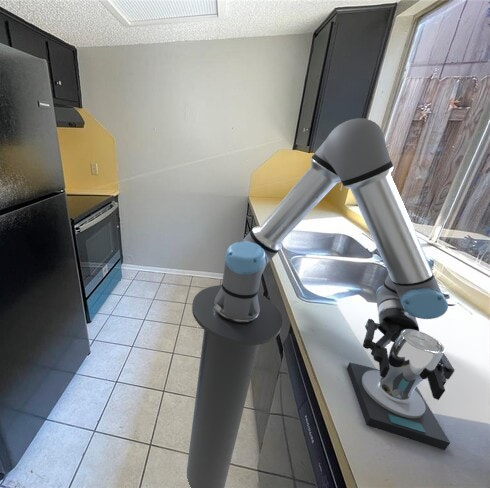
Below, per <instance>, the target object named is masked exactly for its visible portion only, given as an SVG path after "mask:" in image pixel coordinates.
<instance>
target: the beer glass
mask: <svg viewBox="0 0 490 488" xmlns="http://www.w3.org/2000/svg"><path fill="white" fill-rule="evenodd" d="M445 351H446V348H445V346H444V345H443V343H442V342H441V341H440V340H438V339H436V338H434V336H432V335H429V334H428V333H425V332H423V331H421V330H419V331H417V330H413V329H404V330H402V331H401V333H400V334H399V336H398V337H397V339H396V340H395V342H392V345H391V347H390V350H389V353H388V360H389V367H390V369H389V371H388V373H387V374H386V376H385V378H384V377H380V378H379V379H378V380H377V382H376V385H377V387H378V389H379V390H380V391H381V393H382V394H384V395H385V396H386V397H387V398H389V399H391V400H393V401H395V402H397V403H401V404H408V403H410V401H411V399H412V395H413V392H414V390H415V388H416V387H417V388H418V386H420V385H421V384H422V383H423V382H424V381H425V380H427V379H428V378H427V377H429V376H430V375H431V374H432V372H433V371H434V370H435V368H436V367H437V365H438V363H439V361H440V359H441V357H442V355H443V353H444V354H445Z"/></svg>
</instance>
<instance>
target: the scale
mask: <svg viewBox="0 0 490 488" xmlns="http://www.w3.org/2000/svg"><path fill="white" fill-rule="evenodd" d="M346 371H347V374H348V377H349V379H350V382H351V385H352V388H353V391H354V394H355V397H356V399H357V402H358V405H359V408H360V411H361V415H362V416H363V419H364V422H365V426H367V427H369V428H373V429H376V430H380V431H383V432H385V433H388V434H392V435H395V436H398V437H402V438H405V439H407V440H411V441H413V442H418V443H420V444H424V445H426V446H429V447H433V448H436V449H439V450H442V451H446V450H447V448H448V447H449V446H450V445H451V441H450V439H449V438H448V436H447V434H446V433H445V431H444V429H443V428H442V426H441V424H440V423H439V422H438V420H437V417H436V416H435V414H434V413H433V412H432V410H431V408H430V406H429V405H428V403H427V401H426V400H425V398H424V397H423V395H422V393H421V392H420V390H419V388H418V386H417V387H416V388H415V390H414V392H413V395H412V399H411V401H410V403H408V404H401V403H397V402H395V401H393V400H391V399H389V398H387V397H386V396H385V395H384V394H382V393H381V391H380V390H379V389H378V387H377V385H376V382H377V380H378V379H379V378H380V377H381V376H380V369H377V368H375V367H370V366H367V365H366V366H365V365H362V364H359V363H355V362H351V361H349V362H348V364H347V367H346Z"/></svg>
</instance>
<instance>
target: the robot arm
mask: <svg viewBox="0 0 490 488" xmlns="http://www.w3.org/2000/svg"><path fill="white" fill-rule="evenodd" d="M386 143H387V142H386V139H385V135H384V132H383V130H382V128H381V126H380V125H379V124H378V123H376V122H375V121H373V120H372V119H368V118H363V117H362V118H361V117H359V118H358V117H357V118H352V119H347V120H346V121H343V122H342V123H340V124H338V125H337V126H336V127H334V128H333V130H331V132H330V133H329V134H328V136H327V138H326V139H325V140H324V141H323V143H321V145H320V146H318V147H319V148H317V149H316V151H315V152H314V153H313V155H312V156H311V157H310V167H309V168H307V170H306V171H305V173H304V174H303V175H302V176H301V177H300V179H299V180H298V181H296V183H295V184H294V186H293V187H292V188H290V191H289V192H287V194H286V195H285V196H284V198H283V199H282V200H280V202H279V203H278V205H277V206H276V207H275V208H274V209H273V210H272V212H270V214H269V215H268V216H267V217H266V218H265V220H264V221H263V222H262V224H261V225H258V226H254V227H253V228H252V229H250V231H249V233H248V234H247V235H246V236H244V238H243V239H242V240H241V241H239V242H237V241H236V242H234V243H231V244H230V245H229V246H228V248H227V250H226V253H225V258H224V267H223V275H222V281H221V285H222V287H221V289H220V291H219V292H218V294H217V296H216V298H215V300H214V310H215V312H216V313H217V314H218V315H219V316H220V317H221V318H223V319H225V320H227V321H229V322H232V323H237V324H248V323H252V322H254V321H255V320H256V319H257V318H258V316H259V311H260V309H259V302H258V296H257V293H259V288H260V284H261V279H262V275H263V273H264V271H265V269H266V267H267V266H268V263H270V261H271V260H272V259H273V258H274V257H275V256H276V255H277V254H278V253H279V251H281V250H282V248H283V246H282V242H283V241H284V240H285V239H286V237H288V236H289V234H290V233H291V232H292V231H293V230H294V229H295V228H296V227H297V226H298V225H299V224H300V223H301V222H302V220H304V219H305V217H306V216H307V215H308V214H309V213H310V212H311V211H312V210H313V209H314V208H315V207H316V206H317V205H318V204H319V203H320V201H322V199H324V197H325V196H327V194H328V193H329V192H330V191H331V190H332V189H333V188H334V187H335V186H336V185H337V184H339V183H341V185H342V186H343V188H345V189H349V190H350V192H351V194H352V196H353V198H354V200H355V203H356V205H357V207H358V209H359V212H360V214H361V216H362V218H363V220H364V222H365V224H366V227H367V229H368V231H369V234H370V236H371V238H372V240H373V243H374V245H375V247H376V249H377V252H378V254H379V255H380V258H381V260H382V262H383V264H384V266H385V269H386V271H387V276H386V278H385V280H384V282H383V283H382V285H380V286H379V287H378V288H377V289H376V291H375V292H376V293H375V303H376V307H377V308H376V309H377V315H378V322H375V320H374V319H372V318H368V319H367V321H366V323H365V325H364V327H365V330H366V332H365V335H364V340H363V343H362V348H364V349H366V350H371V352H370V355H371V356H373V358H372V359H373V360H374V362H377V363H378V367H379V369H378V370H380V376H381V377H384V378H385V376H386V374H387V373H388V371H389V369H390V367H389V360H388V356H389V353H388V348H386V347H387V346H388V345H389V344H391V343H394V342H395V340H396V339H397V337H398V336H399V334H400V333H401V331H402V330H404V329H413V330H417V331H420V327H419V324H418V320H417V319H421V320H432V319H437V318H440V317H442V316H443V315H445V314H446V312H448V308H449V303H448V301H447V297H446V295H445V294H444V293H443V291H442V290H441V288H440V286H439V284H438V281H437V279H436V277H435V275H434V271H433V267H434V264H435V261H434V258H432V257H430V256H428V255H426V253H425V251H424V249H423V246H422V245H421V242H420V240H419V237H418V235H417V233H416V231H415V228H414V225H413V223H412V222H411V219H410V217H409V215H408V211H407V210H406V208H405V205H404V203H403V200H402V198H401V196H400V194H399V191H398V189H397V186H396V184H395V182H394V180H393V178H392V175H391V172H392V171H393V170H394V167H395V166H394V164H393V162H392V159H391V156H390V154H389V151H388V147H387V144H386ZM376 331H379V332H380V333H381V334H382V336H381V337H380V338H379V339H378V340H377V341H376V342H375V341H373V340H374V336H375V332H376ZM455 371H456V370H455V368H454V367H453V366H452V364H451V362H450V361H449V359H448V358H447V356H446V354H445V352H444V353H443V355H442V357H441V359H440V361H439V363H438V365H437V367H436V368H435V370H434V371H433V372H432V374H431V375H430V376H429V377H427V378H426V379H427V381H428V385H429V389H430V391H431V394H432V398H433V399H434V400H437V401H439V400H441V397H442V396H443V394H444V393H445V392H446V388H445V385H446V383H447V380H450V379H451V377H452V376H453V374H454V373H455Z"/></svg>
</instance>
